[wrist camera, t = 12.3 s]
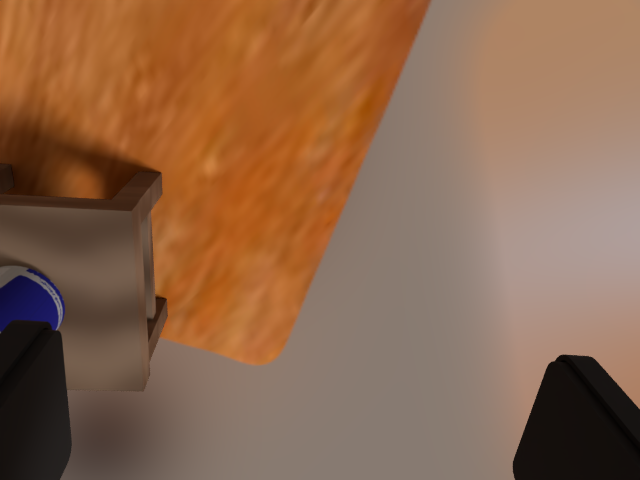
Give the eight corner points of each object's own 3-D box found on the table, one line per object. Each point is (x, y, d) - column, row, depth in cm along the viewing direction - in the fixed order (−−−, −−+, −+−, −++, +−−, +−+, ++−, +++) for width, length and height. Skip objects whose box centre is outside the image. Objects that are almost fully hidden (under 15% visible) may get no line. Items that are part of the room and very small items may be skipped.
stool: (-18, 159, 41) (-107, 199, 31) (165, 169, 42) (131, 211, 33) (9, 314, 46) (-59, 387, 37) (171, 319, 47) (143, 391, 38)
